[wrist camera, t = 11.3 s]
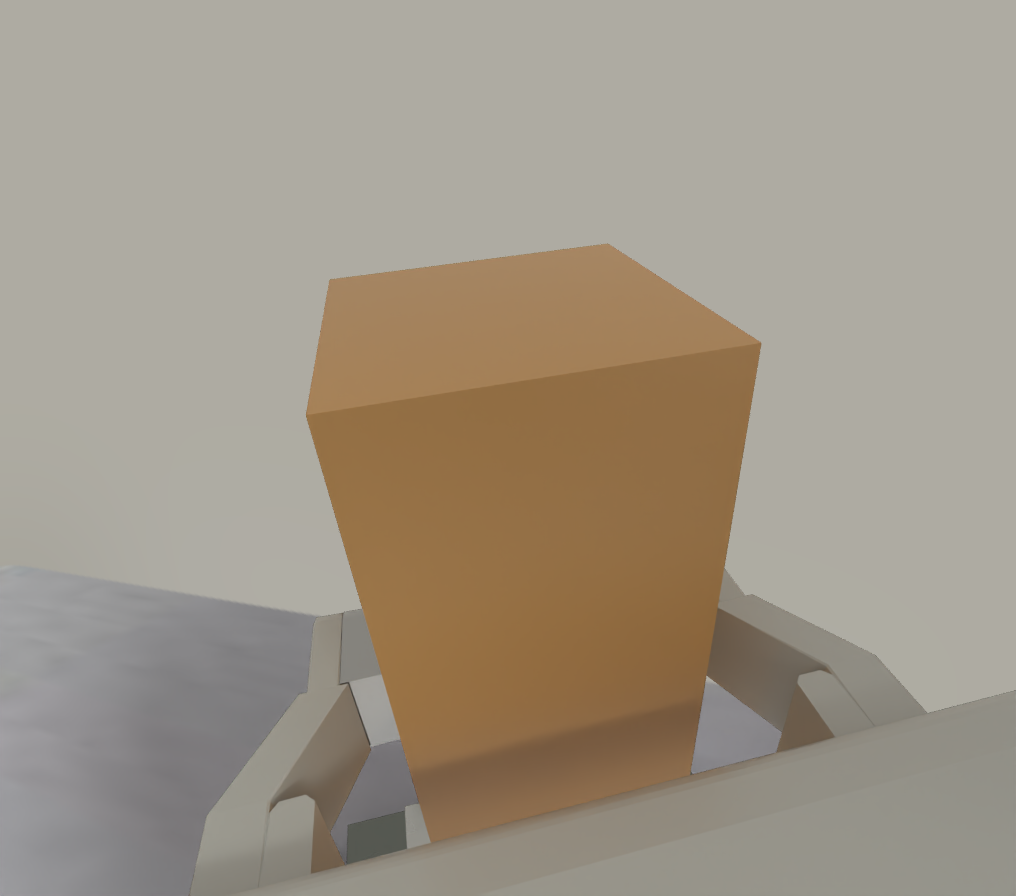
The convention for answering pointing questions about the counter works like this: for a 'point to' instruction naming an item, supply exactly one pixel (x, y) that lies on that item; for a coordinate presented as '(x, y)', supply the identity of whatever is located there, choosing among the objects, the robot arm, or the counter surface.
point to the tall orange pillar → (533, 517)
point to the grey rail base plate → (387, 834)
